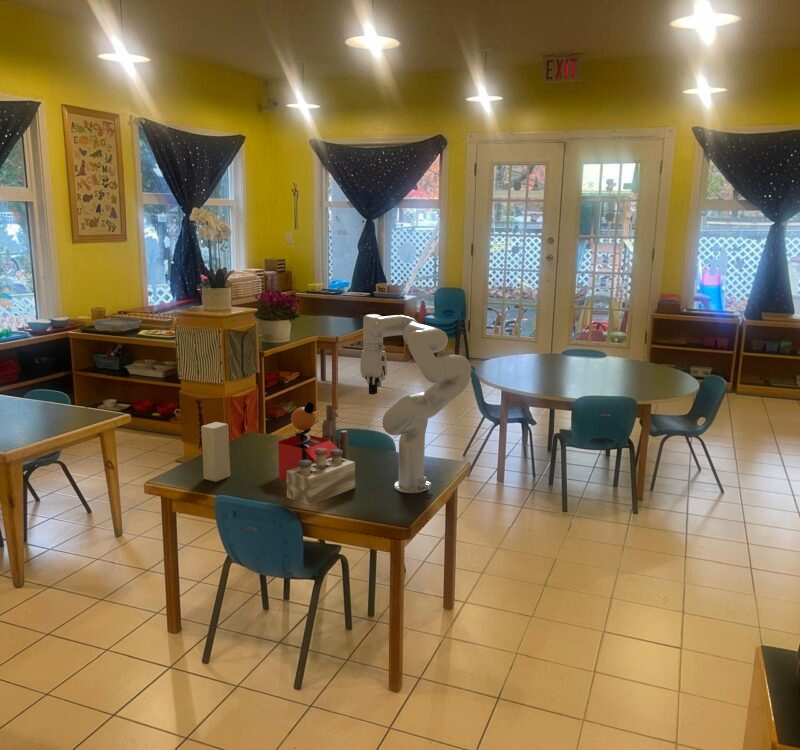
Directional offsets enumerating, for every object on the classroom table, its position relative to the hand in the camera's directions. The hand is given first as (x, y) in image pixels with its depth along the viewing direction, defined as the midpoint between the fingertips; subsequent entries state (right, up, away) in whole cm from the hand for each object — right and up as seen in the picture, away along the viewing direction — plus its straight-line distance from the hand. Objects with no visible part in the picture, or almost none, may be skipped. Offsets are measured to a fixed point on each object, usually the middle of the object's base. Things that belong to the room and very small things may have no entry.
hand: (373, 393), depth 284 cm
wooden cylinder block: (-18, -36, -15) cm, 43 cm away
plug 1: (-23, -32, -22) cm, 46 cm away
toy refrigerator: (-60, -32, -1) cm, 68 cm away
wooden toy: (-16, -30, +15) cm, 37 cm away
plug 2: (-13, -30, -10) cm, 34 cm away
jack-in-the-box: (-27, -32, +2) cm, 42 cm away
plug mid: (-18, -29, -17) cm, 38 cm away
